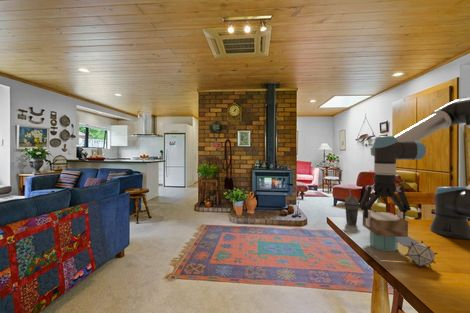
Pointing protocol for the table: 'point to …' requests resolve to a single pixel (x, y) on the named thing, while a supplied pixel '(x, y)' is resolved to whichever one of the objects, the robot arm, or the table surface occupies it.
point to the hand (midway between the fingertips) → (383, 226)
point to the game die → (421, 254)
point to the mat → (406, 241)
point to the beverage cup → (351, 209)
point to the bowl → (384, 242)
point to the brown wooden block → (387, 224)
